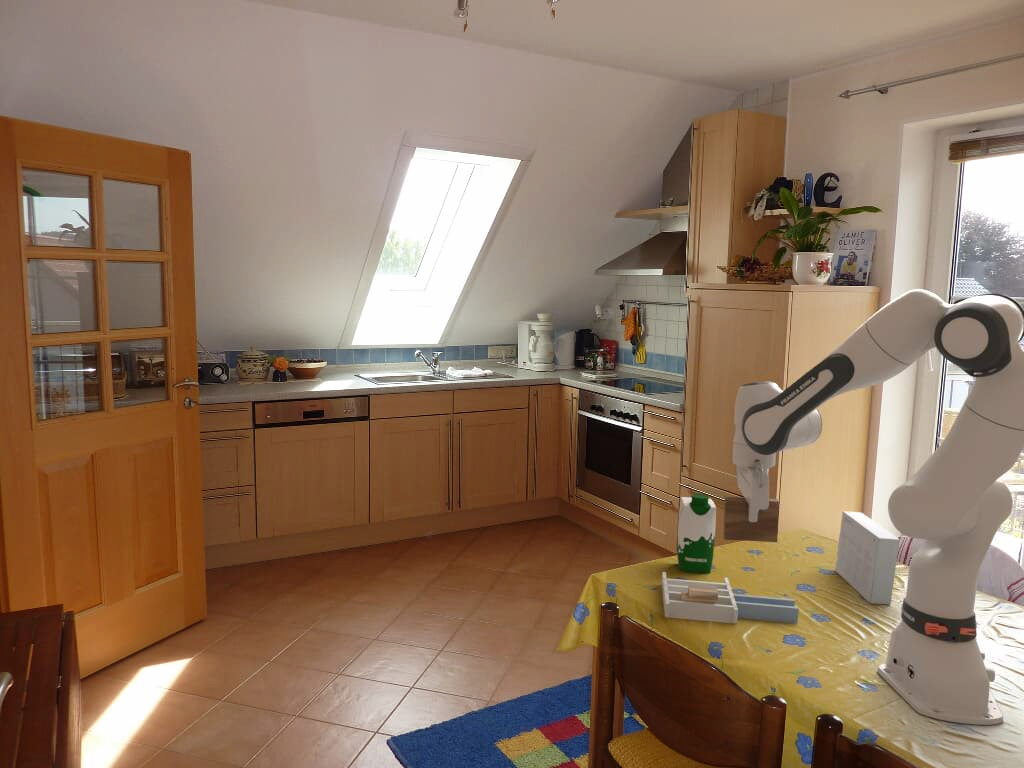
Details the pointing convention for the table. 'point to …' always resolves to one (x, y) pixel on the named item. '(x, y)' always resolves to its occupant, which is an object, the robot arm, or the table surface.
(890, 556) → the skincare box
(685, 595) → the offcut mid
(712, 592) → the offcut top
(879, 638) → the table surface
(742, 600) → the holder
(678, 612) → the rack
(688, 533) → the milk carton
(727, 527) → the walnut sheet
